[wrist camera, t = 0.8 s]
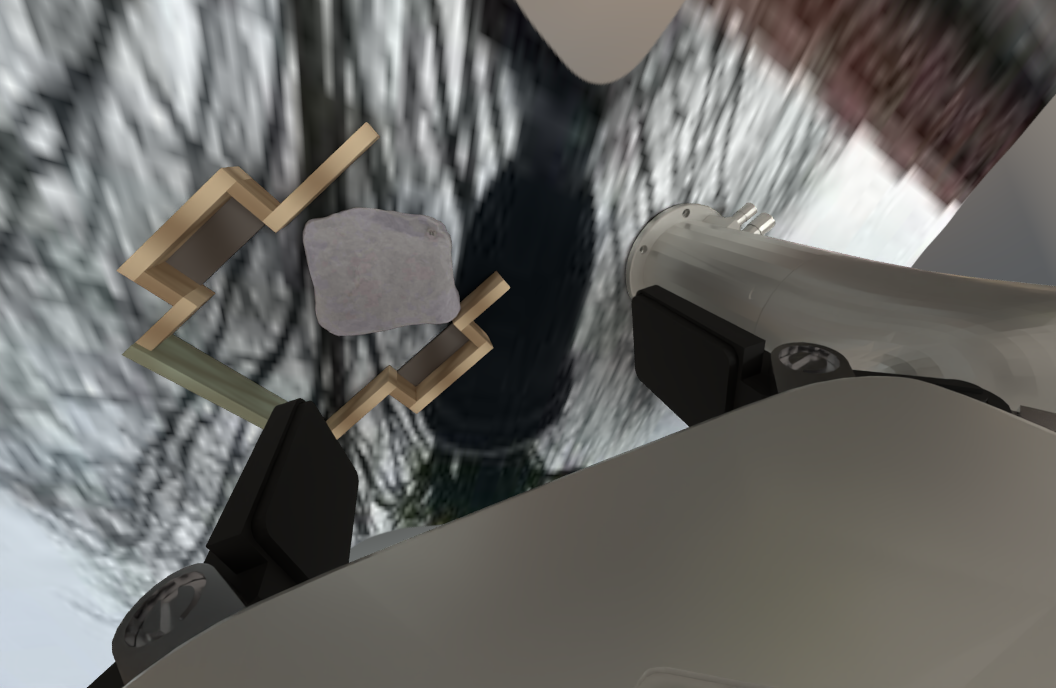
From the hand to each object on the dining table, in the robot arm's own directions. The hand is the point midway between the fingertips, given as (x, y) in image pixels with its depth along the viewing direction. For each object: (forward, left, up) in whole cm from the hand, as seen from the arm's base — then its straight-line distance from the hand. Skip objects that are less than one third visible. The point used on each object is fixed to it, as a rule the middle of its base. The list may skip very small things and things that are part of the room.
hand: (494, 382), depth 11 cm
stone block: (+5, 0, -26) cm, 26 cm away
